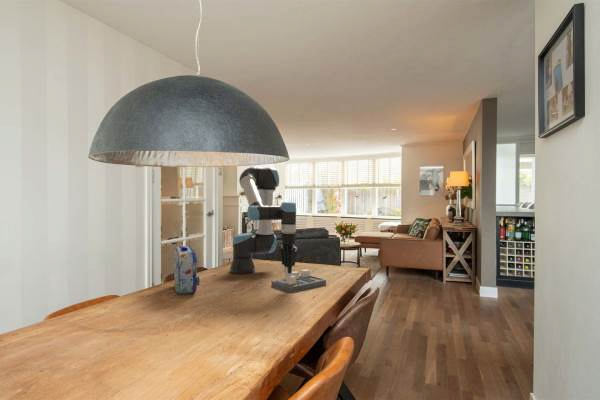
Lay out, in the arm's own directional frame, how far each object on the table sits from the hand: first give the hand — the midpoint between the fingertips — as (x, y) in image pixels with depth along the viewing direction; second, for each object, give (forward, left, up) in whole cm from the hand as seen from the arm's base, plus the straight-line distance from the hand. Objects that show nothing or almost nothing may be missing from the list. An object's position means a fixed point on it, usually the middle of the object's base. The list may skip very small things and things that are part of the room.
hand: (288, 279), depth 177 cm
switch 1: (+2, 0, -2) cm, 3 cm away
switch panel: (-1, +8, -5) cm, 9 cm away
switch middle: (-5, +8, -2) cm, 10 cm away
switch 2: (-5, +16, -2) cm, 17 cm away
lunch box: (-30, -41, -5) cm, 51 cm away
